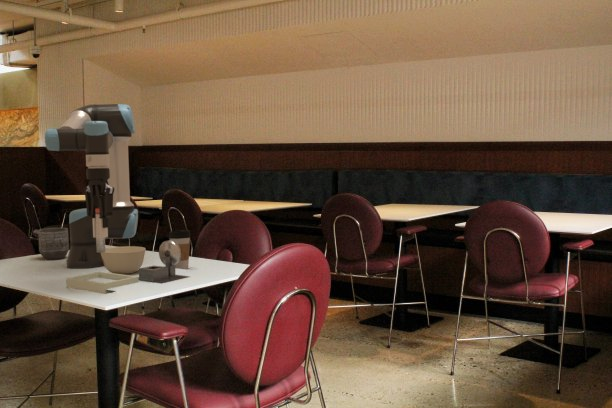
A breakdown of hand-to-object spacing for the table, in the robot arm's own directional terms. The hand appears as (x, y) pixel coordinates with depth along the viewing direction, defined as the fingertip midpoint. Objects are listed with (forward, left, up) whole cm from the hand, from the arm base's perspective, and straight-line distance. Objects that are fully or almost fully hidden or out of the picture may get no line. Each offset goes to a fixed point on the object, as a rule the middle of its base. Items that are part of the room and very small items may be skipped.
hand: (100, 237), depth 230 cm
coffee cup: (-2, +39, -17) cm, 43 cm away
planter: (-70, +31, -17) cm, 79 cm away
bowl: (-9, +17, -17) cm, 26 cm away
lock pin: (0, 0, -5) cm, 5 cm away
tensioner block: (+11, +16, -17) cm, 26 cm away
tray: (0, 0, -17) cm, 17 cm away
